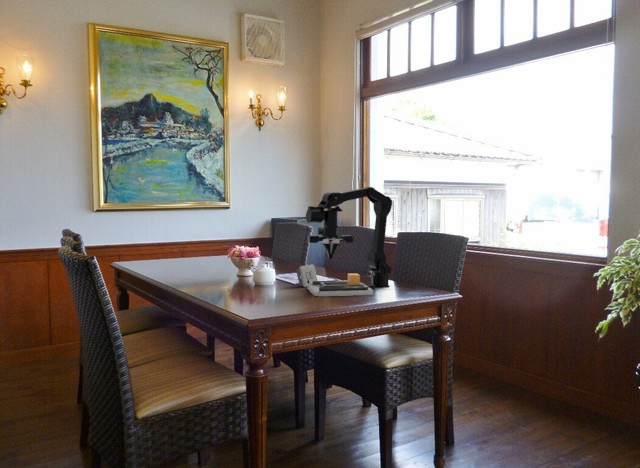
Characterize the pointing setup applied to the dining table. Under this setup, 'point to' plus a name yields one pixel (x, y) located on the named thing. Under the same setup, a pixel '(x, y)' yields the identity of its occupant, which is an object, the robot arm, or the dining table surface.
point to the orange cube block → (353, 279)
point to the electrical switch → (306, 275)
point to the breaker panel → (338, 288)
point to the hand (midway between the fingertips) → (330, 259)
